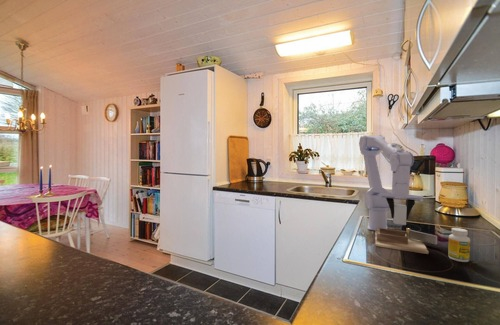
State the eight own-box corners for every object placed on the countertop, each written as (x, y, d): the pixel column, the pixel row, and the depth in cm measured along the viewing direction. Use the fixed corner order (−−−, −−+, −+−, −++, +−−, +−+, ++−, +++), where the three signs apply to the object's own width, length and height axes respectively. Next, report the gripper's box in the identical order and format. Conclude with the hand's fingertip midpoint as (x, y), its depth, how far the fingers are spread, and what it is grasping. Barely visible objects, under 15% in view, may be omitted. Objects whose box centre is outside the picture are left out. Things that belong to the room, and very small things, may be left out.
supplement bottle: (457, 255, 84) (459, 227, 84) (474, 262, 79) (475, 231, 78) (443, 255, 83) (444, 227, 83) (459, 262, 78) (460, 232, 78)
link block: (393, 221, 100) (393, 203, 100) (404, 222, 98) (405, 204, 98) (393, 223, 96) (394, 205, 96) (406, 225, 95) (406, 206, 94)
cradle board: (375, 232, 108) (375, 224, 108) (419, 238, 101) (419, 230, 100) (375, 245, 91) (375, 236, 91) (428, 254, 84) (428, 244, 84)
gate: (405, 236, 99) (405, 228, 99) (407, 236, 99) (407, 227, 99) (435, 244, 90) (435, 235, 90) (437, 244, 91) (437, 234, 91)
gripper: (379, 183, 96) (378, 218, 97) (425, 185, 90) (423, 223, 90) (379, 181, 103) (378, 214, 103) (421, 183, 96) (420, 218, 97)
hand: (399, 218), depth 97 cm, fingers closed on link block, 4 cm apart
